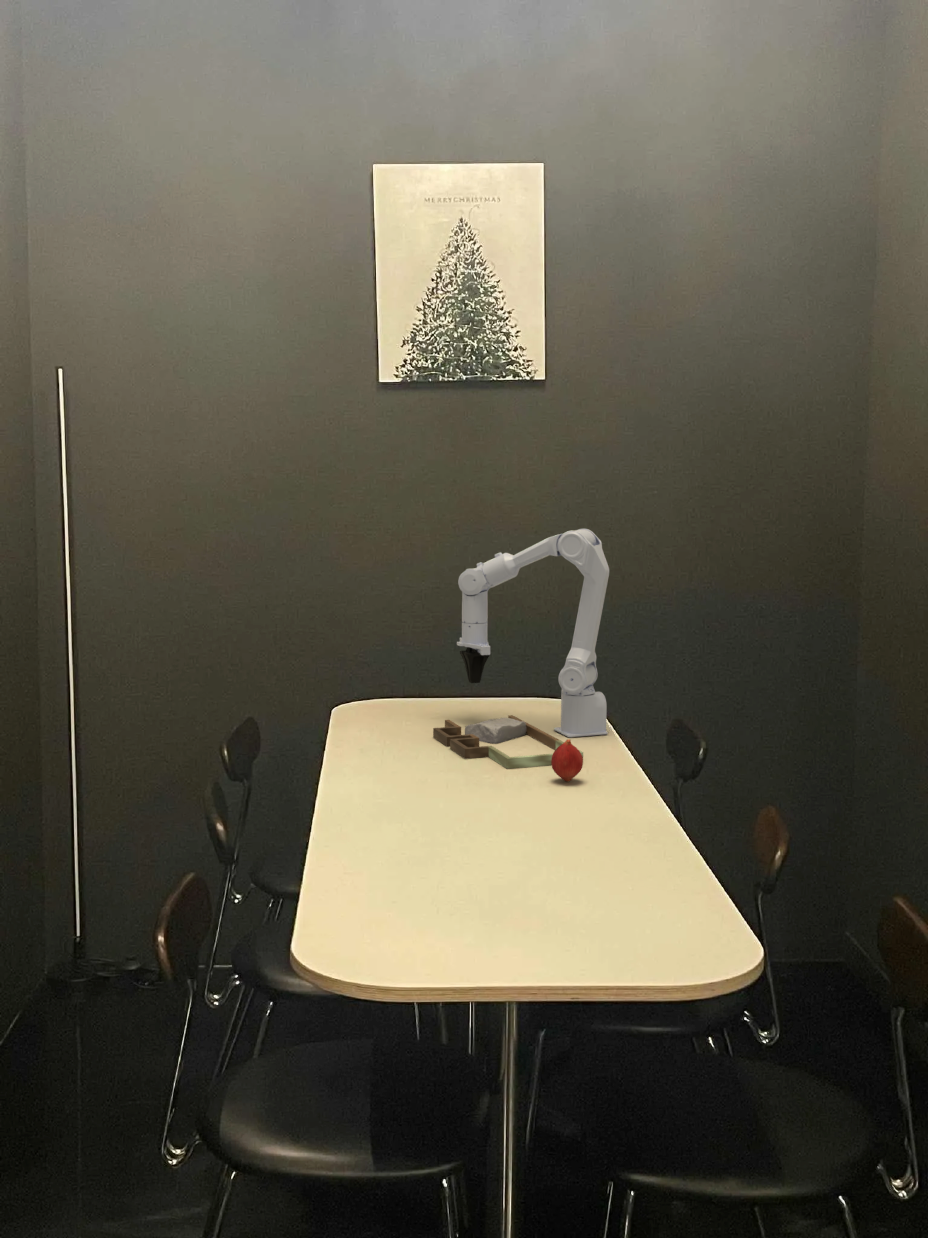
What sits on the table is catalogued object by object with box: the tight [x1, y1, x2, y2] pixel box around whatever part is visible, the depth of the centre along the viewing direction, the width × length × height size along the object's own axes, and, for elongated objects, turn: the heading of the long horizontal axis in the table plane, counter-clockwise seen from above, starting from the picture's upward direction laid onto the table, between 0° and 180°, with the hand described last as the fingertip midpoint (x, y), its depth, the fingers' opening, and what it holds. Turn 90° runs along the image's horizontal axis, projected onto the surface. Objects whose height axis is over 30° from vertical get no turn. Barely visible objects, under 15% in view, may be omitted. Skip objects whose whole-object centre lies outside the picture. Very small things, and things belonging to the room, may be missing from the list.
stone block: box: [464, 717, 527, 745], centre depth 258 cm, size 12×5×10 cm
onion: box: [551, 738, 584, 783], centre depth 221 cm, size 6×6×8 cm
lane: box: [432, 714, 584, 770], centre depth 249 cm, size 21×37×2 cm, turn 20°
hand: (474, 682), depth 269 cm, fingers closed
